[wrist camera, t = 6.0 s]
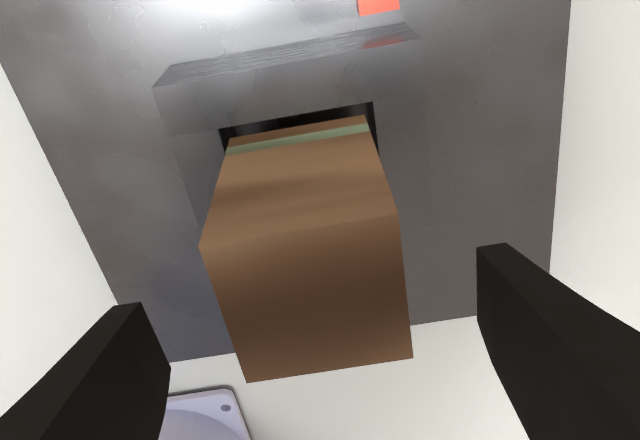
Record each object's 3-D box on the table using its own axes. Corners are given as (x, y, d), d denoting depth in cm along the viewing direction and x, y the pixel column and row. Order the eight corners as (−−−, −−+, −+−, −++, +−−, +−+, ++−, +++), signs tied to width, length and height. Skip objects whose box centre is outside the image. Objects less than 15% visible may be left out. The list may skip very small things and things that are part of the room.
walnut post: (379, 229, 17) (413, 358, 12) (260, 248, 17) (246, 383, 12) (364, 114, 15) (398, 213, 10) (229, 138, 15) (198, 246, 10)
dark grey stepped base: (537, 290, 23) (573, 345, 20) (153, 349, 24) (133, 412, 21) (570, -218, 14) (646, -254, 11) (-53, -90, 15) (-141, -91, 12)
